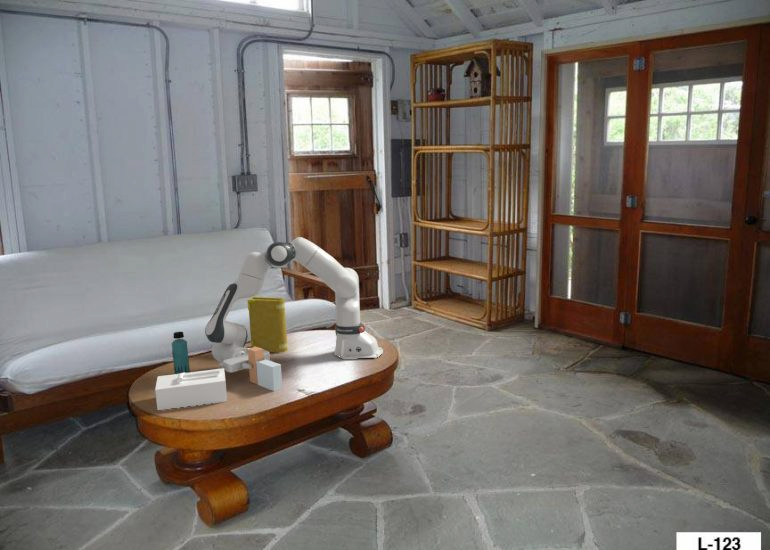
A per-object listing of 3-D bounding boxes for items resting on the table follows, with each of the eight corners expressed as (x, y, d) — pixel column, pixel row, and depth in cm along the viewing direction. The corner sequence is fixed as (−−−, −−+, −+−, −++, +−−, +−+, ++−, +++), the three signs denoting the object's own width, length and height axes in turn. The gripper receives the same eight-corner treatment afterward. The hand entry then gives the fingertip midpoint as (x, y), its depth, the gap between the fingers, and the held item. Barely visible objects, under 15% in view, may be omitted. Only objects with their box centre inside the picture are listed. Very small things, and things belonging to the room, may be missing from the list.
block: (250, 381, 252) (247, 349, 249) (258, 378, 255) (255, 346, 252) (257, 384, 249) (254, 351, 246) (265, 381, 252) (263, 348, 249)
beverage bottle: (185, 373, 264) (180, 329, 260) (194, 377, 260) (189, 331, 256) (171, 378, 259) (166, 332, 255) (180, 381, 255) (175, 335, 251)
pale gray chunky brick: (257, 384, 249) (255, 361, 247) (265, 381, 252) (264, 358, 250) (274, 391, 241) (272, 366, 239) (282, 388, 244) (280, 364, 242)
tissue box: (160, 397, 240) (157, 370, 238) (225, 388, 247) (223, 362, 244) (157, 411, 226) (154, 383, 224) (227, 402, 233) (225, 375, 231)
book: (251, 350, 292) (247, 299, 287) (258, 346, 298) (254, 296, 293) (283, 353, 287) (280, 301, 282) (289, 348, 293) (286, 297, 288)
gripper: (216, 357, 251) (235, 364, 242) (257, 344, 266) (277, 351, 256) (217, 371, 253) (236, 379, 243) (258, 358, 267) (278, 365, 258)
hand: (257, 364), depth 250 cm, fingers closed on block, 4 cm apart
